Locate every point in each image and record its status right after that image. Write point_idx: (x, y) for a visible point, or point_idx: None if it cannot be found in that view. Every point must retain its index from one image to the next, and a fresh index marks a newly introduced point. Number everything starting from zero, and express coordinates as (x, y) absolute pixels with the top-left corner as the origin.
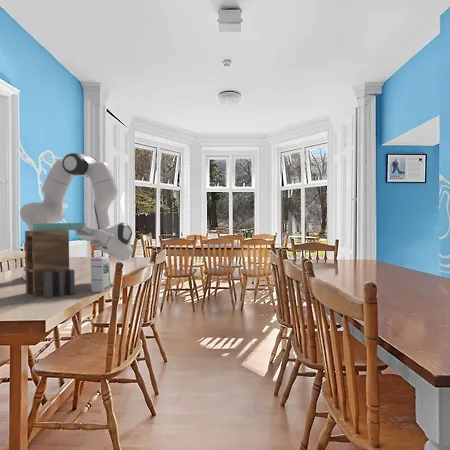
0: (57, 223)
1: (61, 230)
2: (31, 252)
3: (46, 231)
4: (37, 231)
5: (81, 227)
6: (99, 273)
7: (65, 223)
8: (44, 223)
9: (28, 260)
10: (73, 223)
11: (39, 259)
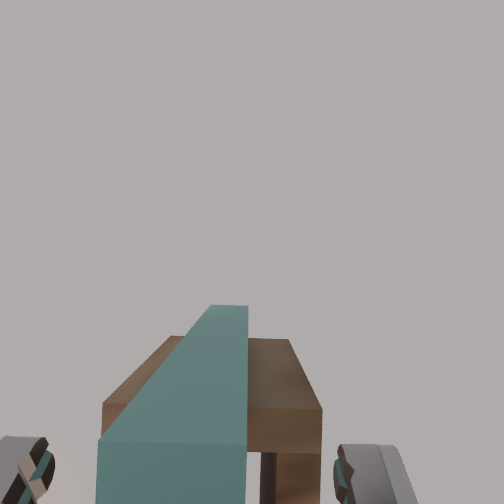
0: (193, 326)
1: None
2: (262, 456)
3: (155, 352)
4: (167, 339)
5: (48, 453)
6: None
7: (181, 342)
8: (247, 315)
9: (260, 488)
10: (161, 367)
11: None
